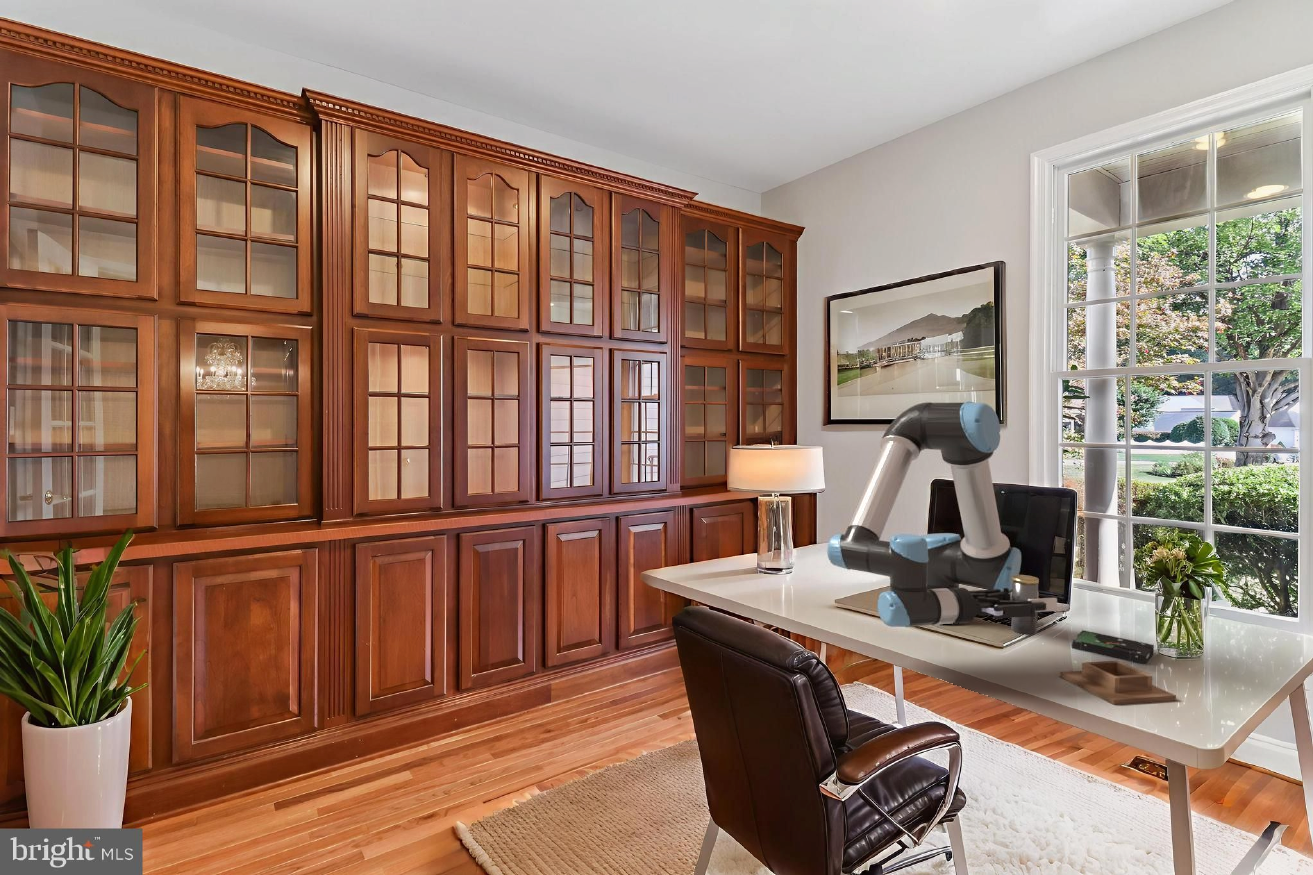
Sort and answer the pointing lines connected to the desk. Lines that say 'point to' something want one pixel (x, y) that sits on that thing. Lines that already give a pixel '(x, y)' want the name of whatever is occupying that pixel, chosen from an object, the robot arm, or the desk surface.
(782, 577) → the desk surface
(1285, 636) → the desk surface
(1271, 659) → the desk surface
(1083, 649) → the disk drive
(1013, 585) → the grey post
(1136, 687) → the socket base
